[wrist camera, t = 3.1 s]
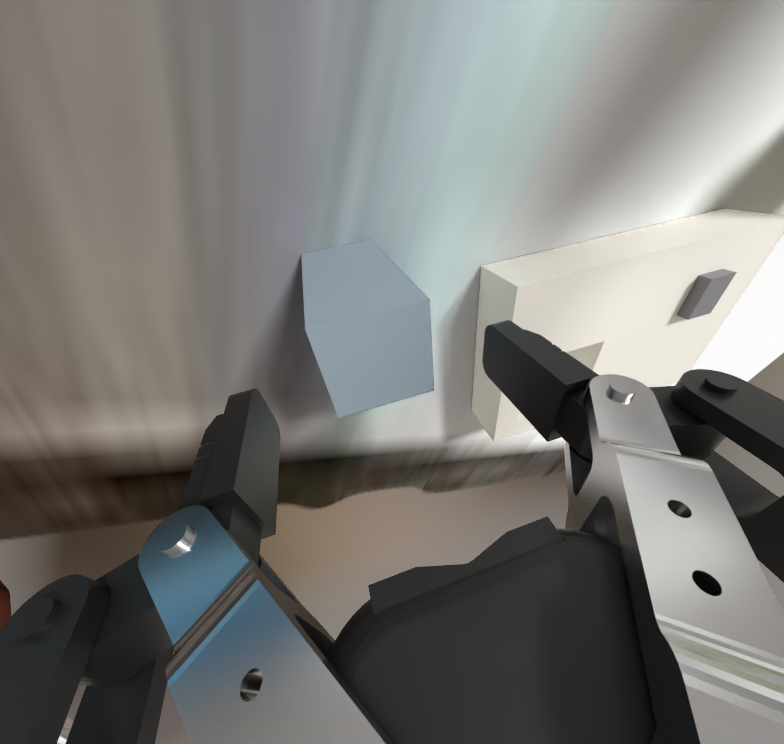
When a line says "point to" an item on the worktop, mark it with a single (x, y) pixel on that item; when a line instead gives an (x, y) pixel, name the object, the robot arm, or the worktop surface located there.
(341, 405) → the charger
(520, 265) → the outlet plate
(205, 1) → the worktop surface
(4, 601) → the potted plant
